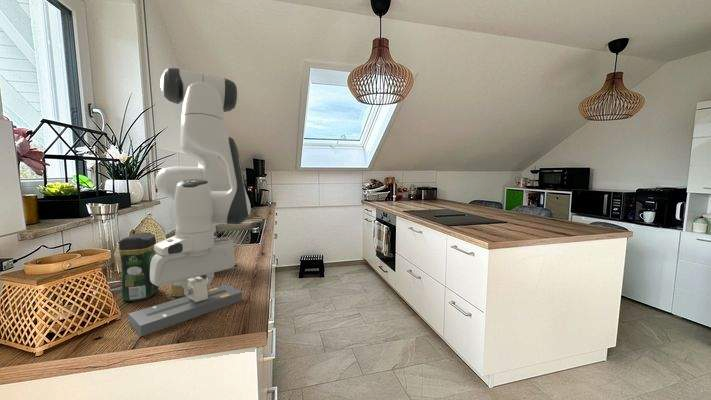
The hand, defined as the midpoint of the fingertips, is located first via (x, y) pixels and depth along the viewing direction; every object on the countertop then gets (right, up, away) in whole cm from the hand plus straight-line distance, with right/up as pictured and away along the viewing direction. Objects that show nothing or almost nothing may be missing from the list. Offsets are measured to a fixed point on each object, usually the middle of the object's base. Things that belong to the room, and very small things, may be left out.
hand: (197, 292), depth 76 cm
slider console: (-1, -5, -1) cm, 5 cm away
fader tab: (0, -2, 0) cm, 2 cm away
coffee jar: (-21, -4, +8) cm, 23 cm away
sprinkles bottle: (-10, -4, +10) cm, 15 cm away
